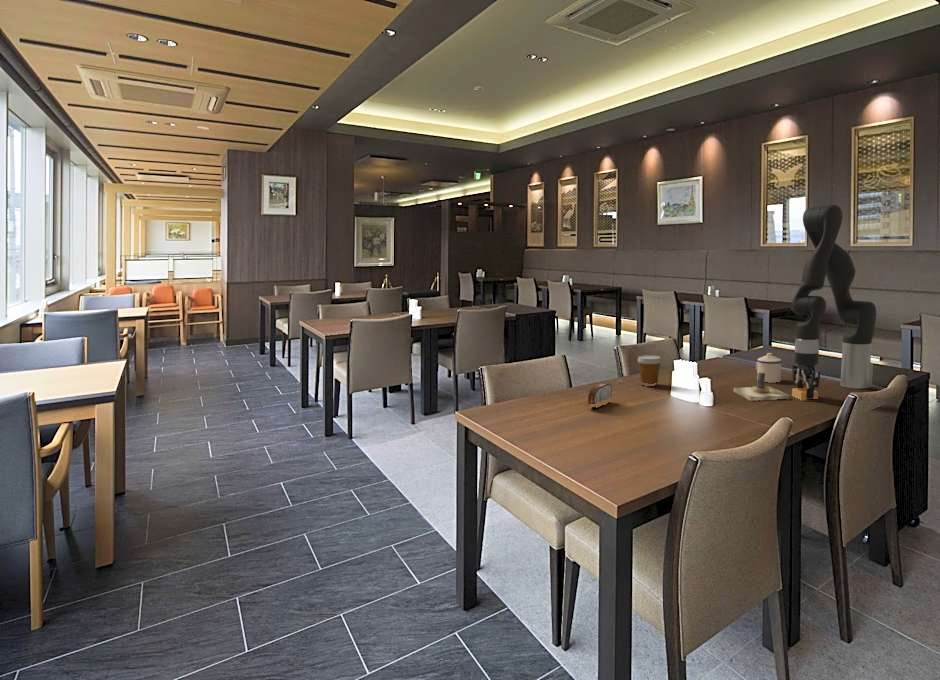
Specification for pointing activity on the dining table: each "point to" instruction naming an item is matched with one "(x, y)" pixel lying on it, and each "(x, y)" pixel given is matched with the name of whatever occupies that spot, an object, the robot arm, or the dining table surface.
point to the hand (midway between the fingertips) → (804, 395)
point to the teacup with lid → (769, 368)
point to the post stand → (761, 391)
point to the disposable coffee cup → (649, 368)
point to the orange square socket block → (802, 393)
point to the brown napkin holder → (599, 393)
